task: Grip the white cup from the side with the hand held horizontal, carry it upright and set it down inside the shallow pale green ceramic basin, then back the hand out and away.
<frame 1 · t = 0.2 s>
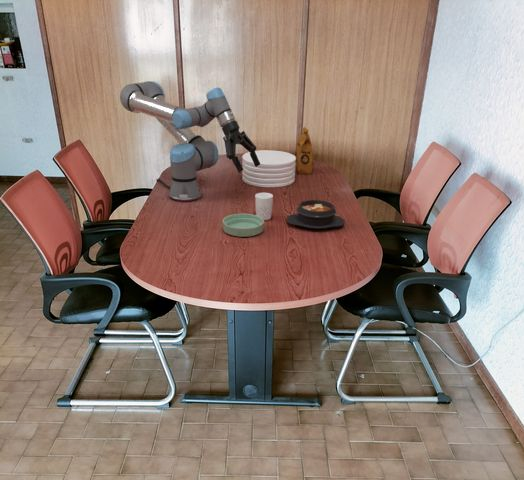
hand: (249, 168, 238), 16 cm above the table, tool tilted 35°, fingers open, 13 cm apart
basin: (243, 230, 219), on the table
casserole: (315, 224, 226), on the table
coffee package: (303, 171, 291), on the table
plate stack: (268, 179, 278), on the table
white cup: (263, 218, 231), on the table
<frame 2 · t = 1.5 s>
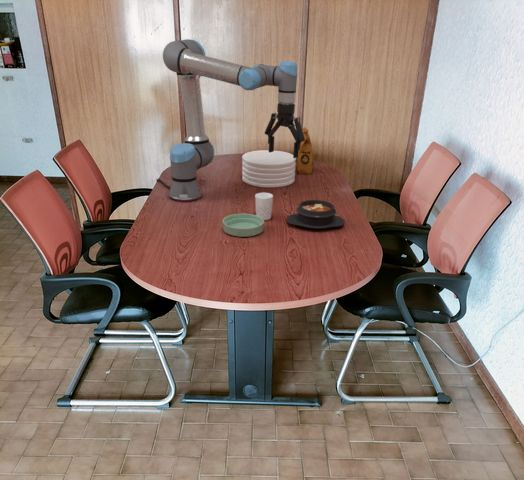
hand: (283, 154, 233), 23 cm above the table, tool pointing down, fingers open, 13 cm apart
nothing on the table moved.
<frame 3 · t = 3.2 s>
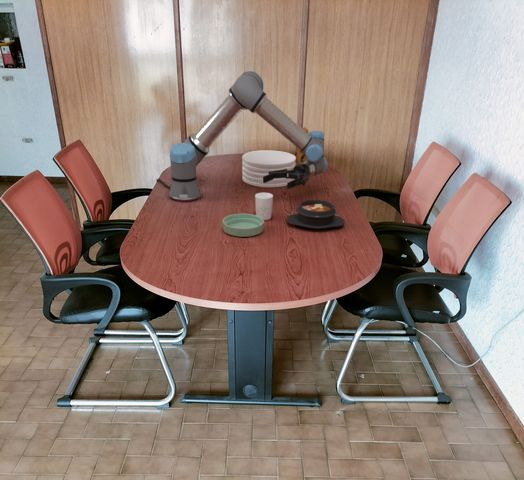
hand: (275, 182, 230), 13 cm above the table, tool horizontal, fingers open, 13 cm apart
nothing on the table moved.
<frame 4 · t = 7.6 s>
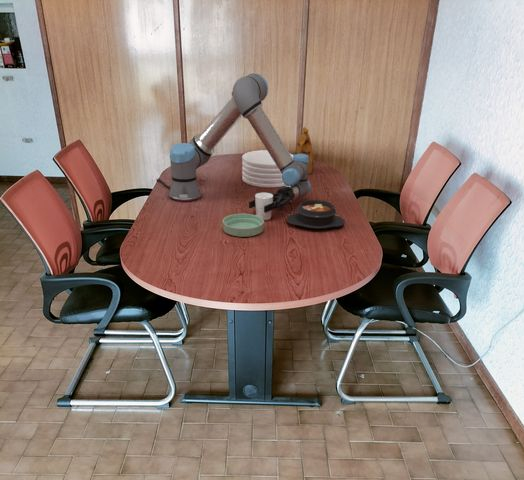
hand: (257, 207, 224), 6 cm above the table, tool horizontal, fingers closed on white cup, 8 cm apart
white cup: (263, 218, 231), on the table, touching gripper
everything else where it was.
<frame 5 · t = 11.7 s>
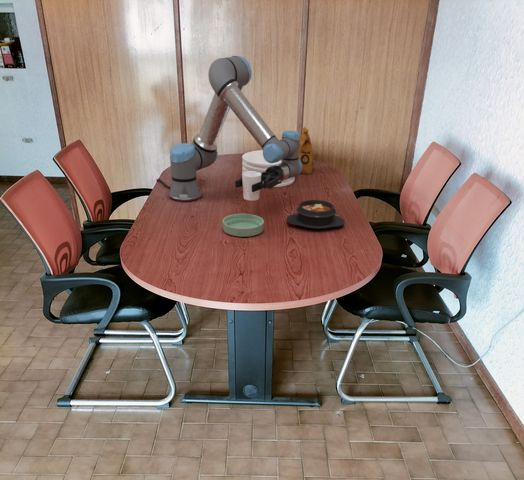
hand: (244, 186, 210), 18 cm above the table, tool horizontal, fingers closed on white cup, 8 cm apart
white cup: (251, 198, 217), point 12 cm above the table, touching gripper
everything else where it was.
when the fingers open (7 cm above the table, at t = 16.1 s): white cup stays where it is, resting on basin.
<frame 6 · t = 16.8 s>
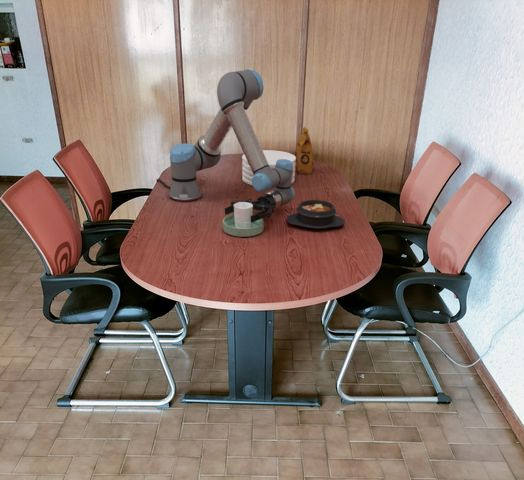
hand: (238, 215, 213), 7 cm above the table, tool horizontal, fingers open, 13 cm apart
white cup: (243, 228, 219), point 1 cm above the table, touching basin
everything else where it was.
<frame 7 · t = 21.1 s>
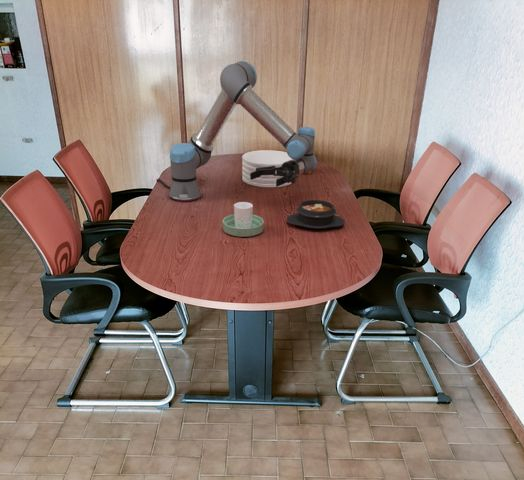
hand: (263, 179, 218), 18 cm above the table, tool horizontal, fingers open, 13 cm apart
nothing on the table moved.
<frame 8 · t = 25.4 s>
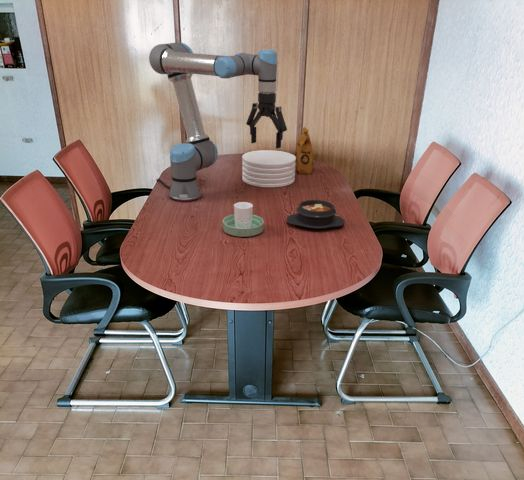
hand: (265, 145, 230), 27 cm above the table, tool pointing down, fingers open, 13 cm apart
nothing on the table moved.
at the end: white cup inside the target area in the basin (0.0 cm from its centre), point 0.5 cm above the basin's base; white cup tilted 0°; the gripper is holding nothing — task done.
